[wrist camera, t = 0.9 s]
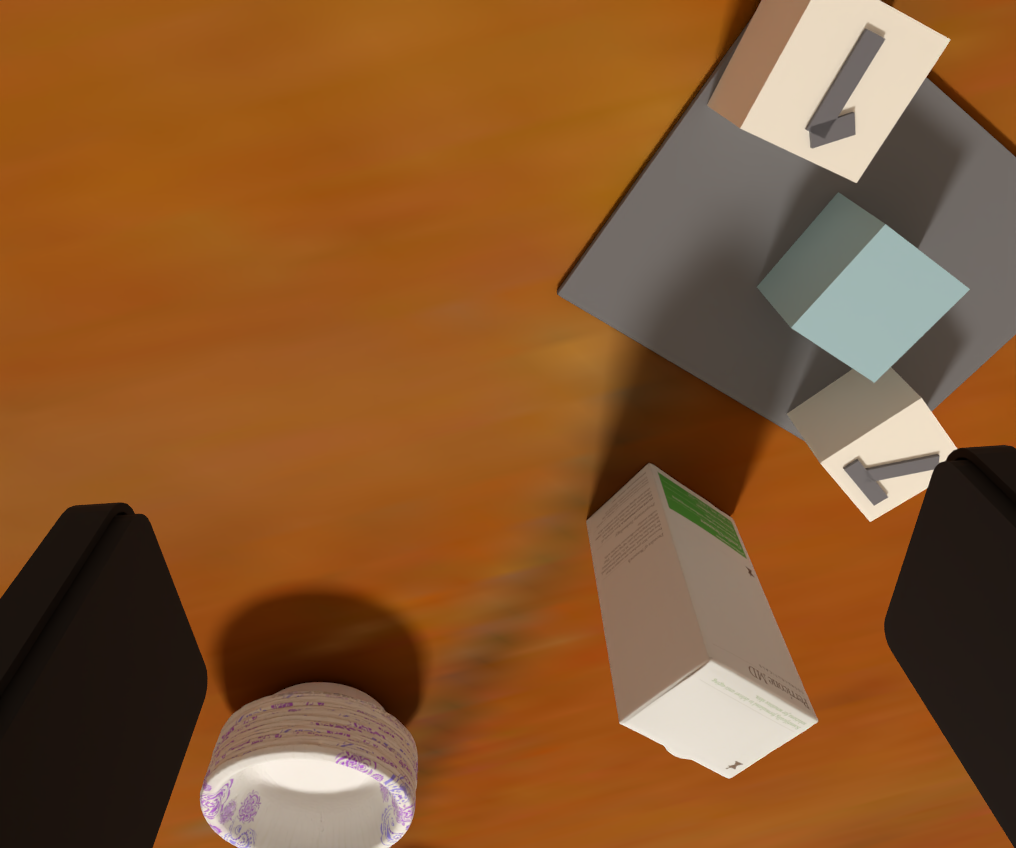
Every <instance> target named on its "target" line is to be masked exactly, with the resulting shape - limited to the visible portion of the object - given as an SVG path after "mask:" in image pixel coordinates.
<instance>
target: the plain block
mask: <svg viewBox="0 0 1016 848" xmlns="http://www.w3.org/2000/svg"><path fill="white" fill-rule="evenodd" d="M757 288H758V289H759V290H760V292H761V293H762V294H763V295H764V296H765V298H766V299H767V300H768V301H769V302H770V304H771V305H772V306H773V307H774V308H775V309H776V311H777V312H778V313H779V314H780V315H781V317H782V318H783V319H784V320H785V321H786V323H787V324H788V325H789V326H790V327H791V328H792V329H793V330H795V331H797V332H798V333H800V334H801V335H803V336H804V337H806V338H807V339H809V340H810V341H812V342H813V343H815V344H816V345H818V346H819V347H821V348H822V349H824V350H825V351H827V352H828V353H830V354H831V355H833V356H834V357H836V358H837V359H839V360H841V361H842V362H844V363H845V364H847V365H848V366H850V367H851V368H853V369H854V370H856V371H857V372H859V373H860V374H862V375H863V376H865V377H866V378H868V379H869V380H871V381H872V382H874V383H875V382H876V381H877V380H878V379H879V378H880V377H881V376H882V375H883V374H884V373H885V372H886V371H887V370H888V369H889V368H890V367H891V366H892V365H893V364H894V363H895V362H896V361H897V360H898V359H899V358H900V357H901V356H902V355H904V354H905V353H906V352H907V351H908V350H909V349H910V348H911V347H912V346H913V345H914V344H915V343H916V342H917V341H918V340H919V339H920V338H921V337H922V336H923V335H924V334H925V333H926V332H927V331H928V330H929V329H930V328H931V327H932V326H933V325H934V324H935V323H936V322H937V321H938V320H939V319H940V318H941V317H942V316H943V315H944V314H945V313H946V312H947V311H948V310H949V309H950V308H951V307H952V306H954V305H955V304H956V303H957V302H958V301H959V300H960V299H961V298H962V297H963V296H964V295H965V294H966V293H967V292H968V291H969V290H970V289H969V288H968V287H966V286H965V285H964V284H963V283H961V282H960V281H959V280H957V279H956V278H955V277H954V276H952V275H951V274H950V273H948V272H947V271H946V270H944V269H943V268H942V267H941V266H939V265H938V264H937V263H935V262H934V261H933V260H931V259H930V258H929V257H928V256H926V255H925V254H924V253H922V252H921V251H920V250H918V249H917V248H916V247H915V246H913V245H912V244H911V243H909V242H908V241H907V240H906V239H904V238H903V237H902V236H900V235H899V234H898V233H896V232H895V231H894V230H893V229H891V228H890V227H889V226H887V225H886V224H885V223H883V222H882V221H880V220H879V219H877V218H876V217H874V216H873V215H871V214H870V213H868V212H867V211H865V210H864V209H862V208H861V207H860V206H858V205H857V204H855V203H854V202H852V201H851V200H849V199H848V198H846V197H845V196H843V195H842V194H840V193H839V192H838V193H837V194H836V195H835V196H834V198H833V199H832V200H831V201H830V202H829V203H828V205H827V206H826V207H825V208H824V209H823V210H822V212H821V213H820V214H819V215H818V216H817V217H816V219H815V220H814V221H813V222H812V223H811V224H810V226H809V227H808V228H807V229H806V230H805V231H804V233H803V234H802V235H801V236H800V237H799V238H798V239H797V241H796V242H795V243H794V244H793V245H792V246H791V248H790V249H789V250H788V251H787V252H786V253H785V255H784V256H783V257H782V258H781V259H780V260H779V262H778V263H777V264H776V265H775V266H774V267H773V269H772V270H771V271H770V272H769V273H768V274H767V276H766V277H765V278H764V279H763V280H762V281H761V283H760V284H759V285H758V286H757Z"/></svg>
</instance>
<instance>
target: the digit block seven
mask: <svg viewBox="0 0 1016 848" xmlns="http://www.w3.org/2000/svg"><path fill="white" fill-rule="evenodd" d="M787 415H788V417H789V418H790V420H791V421H792V422H793V424H794V425H795V427H796V428H797V430H798V431H799V433H800V434H801V436H802V437H803V439H804V440H805V442H806V443H807V445H808V446H809V447H810V449H811V450H812V452H813V453H814V455H815V456H816V458H817V459H818V461H819V462H820V463H821V465H822V466H823V467H824V468H825V469H826V471H827V472H828V473H829V474H830V475H831V476H832V478H833V479H834V480H835V481H836V482H837V483H838V485H839V486H840V487H841V488H842V489H843V491H844V492H845V493H846V494H847V495H848V496H849V498H850V499H851V500H852V501H853V502H854V503H855V505H856V506H857V507H858V508H859V509H860V511H861V512H862V513H863V514H864V515H865V516H866V518H867V519H868V520H869V521H870V522H871V521H873V520H874V519H876V518H878V517H879V516H881V515H883V514H884V513H886V512H888V511H889V510H891V509H893V508H895V507H896V506H898V505H900V504H901V503H903V502H905V501H906V500H908V499H910V498H911V497H913V496H915V495H916V494H918V493H920V492H921V491H923V490H925V489H926V488H928V485H929V482H930V479H931V476H932V473H933V471H934V469H935V467H936V466H937V465H938V464H939V463H940V462H943V461H946V459H947V457H948V455H949V454H950V453H951V452H952V451H953V450H956V449H957V448H956V446H955V445H954V443H953V442H952V441H951V439H950V438H949V436H948V435H947V433H946V432H945V431H944V429H943V428H942V426H941V425H940V423H939V422H938V421H937V419H936V418H935V416H934V415H933V413H932V412H931V411H930V409H929V408H928V406H927V405H926V403H925V402H924V401H923V399H922V398H921V397H920V396H919V395H918V394H917V393H916V392H915V391H914V390H913V389H912V388H911V387H910V386H909V385H908V384H907V383H906V382H905V381H904V380H903V379H902V378H901V377H900V376H899V375H898V374H897V373H896V372H895V371H894V370H893V369H892V368H891V367H890V368H889V369H888V370H887V371H886V372H885V373H884V374H883V375H882V376H881V377H880V378H879V379H878V380H877V381H876V382H875V383H874V382H872V381H871V380H869V379H868V378H866V377H865V376H863V375H862V374H860V373H859V372H857V371H856V370H854V369H852V370H850V371H849V372H848V373H846V374H845V375H843V376H842V377H840V378H839V379H837V380H836V381H834V382H833V383H831V384H830V385H828V386H827V387H825V388H824V389H822V390H821V391H820V392H818V393H817V394H815V395H814V396H812V397H811V398H809V399H808V400H806V401H805V402H803V403H802V404H800V405H799V406H797V407H796V408H795V409H793V410H792V411H790V412H789V413H787Z"/></svg>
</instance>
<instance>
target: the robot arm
mask: <svg viewBox="0 0 1016 848" xmlns="http://www.w3.org/2000/svg"><path fill="white" fill-rule="evenodd" d="M884 630H885V636H886V640H887V643H888V645H889V647H890V649H891V651H892V653H893V654H894V656H895V658H896V659H897V661H898V662H899V664H900V666H901V667H902V669H903V670H904V672H905V674H906V675H907V677H908V678H909V680H910V682H911V683H912V685H913V686H914V688H915V689H916V691H917V693H918V694H919V696H920V697H921V699H922V701H923V702H924V704H925V705H926V707H927V709H928V710H929V712H930V713H931V715H932V717H933V718H934V720H935V721H936V723H937V725H938V726H939V728H940V729H941V731H942V733H943V734H944V736H945V737H946V739H947V741H948V742H949V744H950V745H951V747H952V749H953V750H954V752H955V753H956V755H957V757H958V758H959V760H960V761H961V763H962V765H963V766H964V768H965V769H966V771H967V773H968V774H969V776H970V777H971V779H972V781H973V782H974V784H975V785H976V787H977V789H978V790H979V792H980V793H981V795H982V797H983V798H984V800H985V801H986V803H987V805H988V806H989V808H990V809H991V811H992V813H993V814H994V816H995V817H996V819H997V821H998V822H999V824H1000V825H1001V827H1002V829H1003V830H1004V832H1005V833H1006V835H1007V837H1008V838H1009V840H1010V841H1011V843H1012V845H1013V846H1014V848H1016V448H1014V447H1012V446H1006V445H999V446H984V447H969V448H959V449H956V450H953V451H952V452H951V453H950V454H949V455H948V457H947V459H946V461H943V462H940V463H939V464H938V465H937V466H936V467H935V469H934V471H933V473H932V476H931V479H930V482H929V485H928V488H927V491H926V494H925V497H924V500H923V504H922V507H921V510H920V513H919V516H918V519H917V522H916V525H915V528H914V531H913V534H912V537H911V540H910V543H909V547H908V550H907V553H906V556H905V559H904V562H903V565H902V568H901V571H900V574H899V577H898V580H897V583H896V586H895V590H894V593H893V596H892V599H891V602H890V605H889V608H888V611H887V614H886V617H885V622H884ZM206 691H207V670H206V666H205V663H204V661H203V658H202V655H201V653H200V650H199V648H198V645H197V643H196V640H195V637H194V635H193V632H192V630H191V627H190V624H189V622H188V619H187V617H186V614H185V611H184V609H183V606H182V604H181V601H180V598H179V596H178V593H177V591H176V588H175V586H174V583H173V580H172V578H171V575H170V573H169V570H168V567H167V565H166V562H165V560H164V557H163V554H162V552H161V549H160V547H159V544H158V541H157V539H156V536H155V534H154V531H153V528H152V526H151V523H150V522H149V520H148V518H147V517H146V516H145V515H143V514H135V513H134V511H133V509H132V508H131V507H130V506H129V505H128V504H125V503H106V504H91V505H76V506H72V507H69V508H68V509H67V510H66V511H65V512H64V513H63V514H62V515H61V516H60V518H59V519H58V520H57V522H56V523H55V525H54V526H53V527H52V529H51V530H50V531H49V533H48V534H47V536H46V537H45V538H44V540H43V541H42V542H41V544H40V545H39V546H38V548H37V549H36V551H35V552H34V553H33V555H32V556H31V557H30V559H29V560H28V562H27V563H26V564H25V566H24V567H23V568H22V570H21V571H20V573H19V574H18V575H17V577H16V578H15V579H14V581H13V582H12V584H11V585H10V586H9V588H8V589H7V590H6V592H5V593H4V595H3V596H2V597H1V599H0V848H152V847H153V845H154V842H155V839H156V836H157V833H158V830H159V828H160V825H161V822H162V819H163V816H164V813H165V810H166V808H167V805H168V802H169V799H170V796H171V793H172V790H173V788H174V785H175V782H176V779H177V776H178V773H179V771H180V768H181V765H182V762H183V759H184V756H185V753H186V751H187V748H188V745H189V742H190V739H191V736H192V733H193V731H194V728H195V725H196V722H197V719H198V716H199V714H200V711H201V708H202V705H203V702H204V699H205V695H206Z"/></svg>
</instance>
